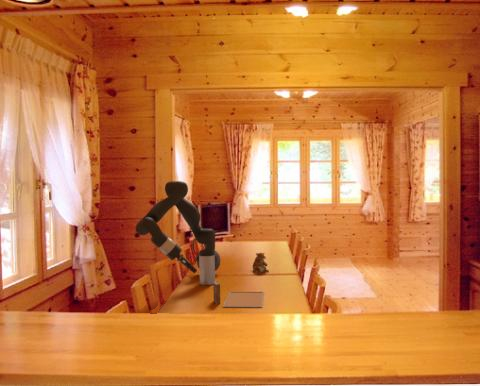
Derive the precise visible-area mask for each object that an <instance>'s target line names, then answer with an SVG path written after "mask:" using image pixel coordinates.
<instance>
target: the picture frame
mask: <svg viewBox="0 0 480 386" xmlns="http://www.w3.org/2000/svg"><path fill="white" fill-rule="evenodd" d="M264 295H265V291H229V292H228V295H227V297H226V299H225V300H224V303H223V306H222V308H223V309H224V308H226V309H233V308H234V309H235V308H236V309H240V308H241V309H263V306H264V305H263V304H264V299H265V298H264V297H265V296H264Z"/></svg>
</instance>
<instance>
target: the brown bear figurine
mask: <svg viewBox="0 0 480 386" xmlns="http://www.w3.org/2000/svg"><path fill="white" fill-rule="evenodd" d="M265 253H266V252H258V253H257V252H256V253H255V255H256V257H255V258H254V261H253V263H252V270H253V273H255V274H257V275H258V274H261V273H269V272H270V270H269V269H267V267H268V263H267V262H266V261H265V259H267V257H266V256H265Z"/></svg>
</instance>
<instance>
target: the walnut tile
mask: <svg viewBox="0 0 480 386" xmlns="http://www.w3.org/2000/svg"><path fill="white" fill-rule="evenodd" d="M212 286H213V288H212V289H213V291H212V292H213V302H214V303H215V304H216V305H221V283H220V282H218V281H215V282H213V284H212Z"/></svg>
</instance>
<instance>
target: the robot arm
mask: <svg viewBox="0 0 480 386" xmlns="http://www.w3.org/2000/svg"><path fill="white" fill-rule="evenodd" d="M164 191H165V194H166V197H165V198H163V199H162V200H159V201H158V202H157V203H156V204H154V205H153V206H152V208H150V209H149V210H148V211H147V213H146V214H145V216H143V217H142V218H141V219H140V220H138V222H136V225H135V232H136V233H137V234H138V236H139V235H140V236H145V235H148V234H149V235H150V236H151V238H150V241H151V243H153V245H154V246H156V247H157V248H158V249H159V251H161V253H163V254H164V255H165V257H167V258H168V259H170V261H174V260H175V259H176V261H177V262H178V263H180V264H181V265H182V266H183V267H186V269H188V270H189V271H191V272H192V273H193V274H196V273H197V271H198V269H196V268H195V266H193V264H192V263H191V262H190V261H189V260H188V259H187V258H186V256H185V255H184V254H183V253H181V252H182V251H183V250H182V247H181V246H180V245H178V243H176V242H175V241H174V240H173V239H172V238H170V237H169V236H167V235H166V233H164V232H163V230H162V229H161V228H160V226H159V224H158V223H159V222H160V221H161V220H162V219H163V218H164V216H165V215H166V214H167V213H168V212H169V211H170V210H171V209H172V208H173V207H174V206H175V207H176V209H177V210H178V212H179V213H180V215H181V216H182V218H183V219H184V220H185V223H186V224H187V225H188V226H189V228H190V230H191V232H192V234H193V236H194V239H195V238H196V241H197V243H198V244H201V245H205V244H207V245H206V248H205V247H204V248H203V249H201V250H199V252H198V254H199V265H200V269H199V285H202V286H210V285H212V286H213V282H216V271H215V259H214V252H215V251H216V235H215V234H216V232H215V230H214V229H213V228H202V227H201V225H200V221H201V213H200V211H199V210H198V208H197V207H196V206H195V204H193V203H192V202H190V201H189V200H188V199H186V198H185V197H186V196H187V194H188V193H189V186H188V184H187V183H186V182H185V181H181V180H179V181H177V180H172V181H167V182H166V184H165V186H164Z"/></svg>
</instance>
